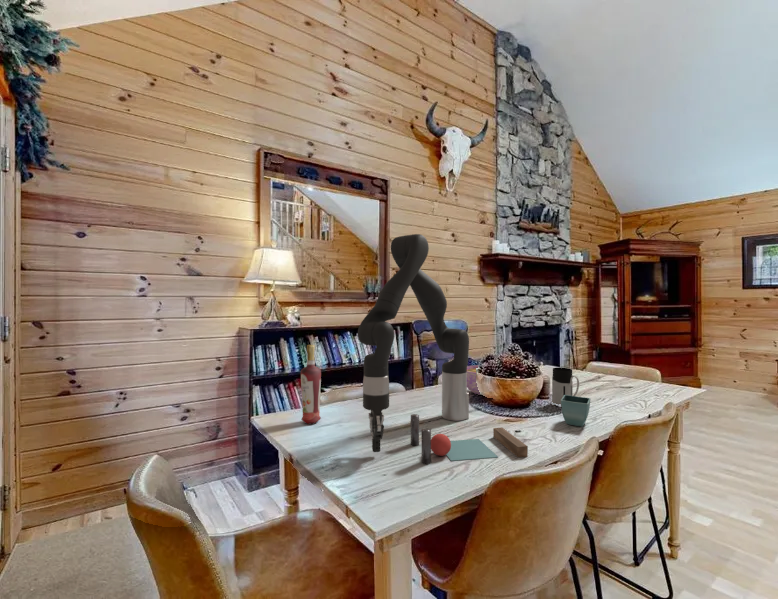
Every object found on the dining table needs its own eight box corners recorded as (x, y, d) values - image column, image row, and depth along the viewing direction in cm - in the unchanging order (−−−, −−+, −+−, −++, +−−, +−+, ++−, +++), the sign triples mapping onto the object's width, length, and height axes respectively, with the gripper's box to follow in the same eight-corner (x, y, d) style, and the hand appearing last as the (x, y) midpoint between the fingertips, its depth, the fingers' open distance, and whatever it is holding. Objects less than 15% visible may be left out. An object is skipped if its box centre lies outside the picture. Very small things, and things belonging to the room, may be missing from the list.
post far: (417, 442, 123) (417, 414, 123) (420, 445, 121) (420, 416, 121) (409, 443, 123) (409, 414, 123) (411, 446, 120) (411, 417, 120)
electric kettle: (564, 401, 170) (564, 366, 170) (587, 411, 156) (588, 373, 156) (546, 402, 168) (546, 367, 168) (568, 412, 154) (568, 374, 154)
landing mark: (478, 439, 126) (478, 438, 126) (498, 457, 112) (498, 456, 112) (436, 442, 124) (436, 441, 124) (451, 461, 110) (451, 460, 110)
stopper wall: (502, 436, 128) (502, 427, 128) (527, 456, 113) (527, 446, 113) (493, 437, 128) (493, 428, 128) (517, 457, 112) (517, 446, 112)
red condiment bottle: (325, 421, 144) (325, 345, 143) (308, 426, 138) (308, 347, 138) (313, 417, 149) (313, 343, 148) (296, 422, 143) (296, 345, 143)
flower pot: (588, 429, 135) (588, 403, 135) (560, 425, 139) (560, 400, 139) (590, 422, 142) (590, 397, 142) (564, 418, 147) (564, 394, 147)
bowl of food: (453, 392, 185) (453, 368, 185) (482, 387, 196) (482, 363, 196) (486, 402, 169) (486, 375, 168) (515, 395, 180) (516, 370, 180)
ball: (440, 454, 117) (451, 437, 118) (446, 463, 111) (457, 444, 112) (423, 444, 116) (434, 427, 117) (429, 452, 110) (440, 434, 111)
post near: (429, 460, 110) (429, 428, 110) (432, 464, 108) (432, 431, 108) (420, 460, 110) (420, 428, 110) (422, 464, 107) (422, 431, 107)
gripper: (393, 396, 107) (393, 459, 107) (385, 385, 120) (385, 441, 120) (365, 397, 106) (365, 461, 106) (360, 386, 119) (360, 443, 119)
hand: (376, 451), depth 113 cm, fingers closed
